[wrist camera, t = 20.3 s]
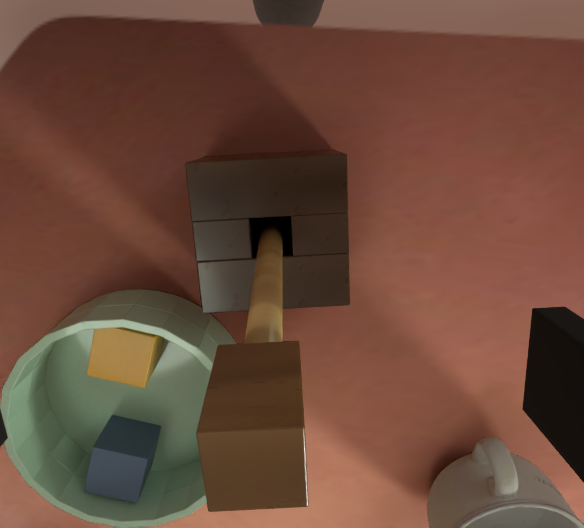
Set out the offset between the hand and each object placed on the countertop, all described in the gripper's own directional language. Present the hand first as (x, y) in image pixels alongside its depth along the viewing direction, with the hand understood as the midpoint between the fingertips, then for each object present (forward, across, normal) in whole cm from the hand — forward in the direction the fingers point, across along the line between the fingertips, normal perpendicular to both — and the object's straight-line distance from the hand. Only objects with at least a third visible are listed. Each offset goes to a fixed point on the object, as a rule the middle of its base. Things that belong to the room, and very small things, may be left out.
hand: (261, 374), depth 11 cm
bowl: (+23, -11, -14) cm, 29 cm away
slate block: (+22, -13, -18) cm, 31 cm away
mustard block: (+22, -11, -9) cm, 26 cm away
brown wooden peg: (+23, 0, 0) cm, 23 cm away
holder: (+23, 0, 0) cm, 23 cm away
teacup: (+24, +16, -24) cm, 37 cm away
